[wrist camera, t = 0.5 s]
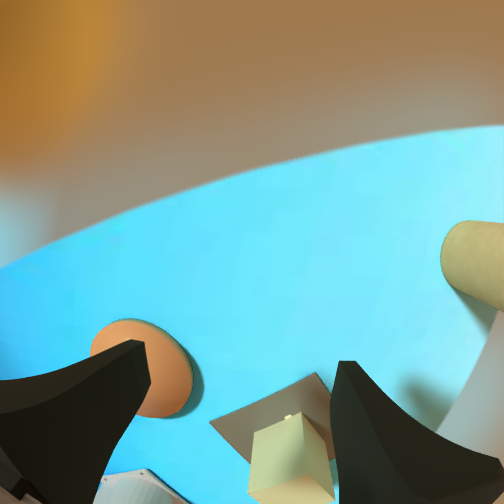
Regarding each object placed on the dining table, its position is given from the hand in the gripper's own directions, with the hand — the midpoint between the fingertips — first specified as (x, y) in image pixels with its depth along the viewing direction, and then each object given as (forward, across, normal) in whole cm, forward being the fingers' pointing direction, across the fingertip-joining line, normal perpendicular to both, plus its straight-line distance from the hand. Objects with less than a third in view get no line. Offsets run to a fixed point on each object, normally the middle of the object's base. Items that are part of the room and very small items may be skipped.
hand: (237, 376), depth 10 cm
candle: (+12, -16, -2) cm, 20 cm away
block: (+9, -3, +14) cm, 17 cm away
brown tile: (+9, -3, +14) cm, 17 cm away
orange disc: (+9, +10, +8) cm, 16 cm away
